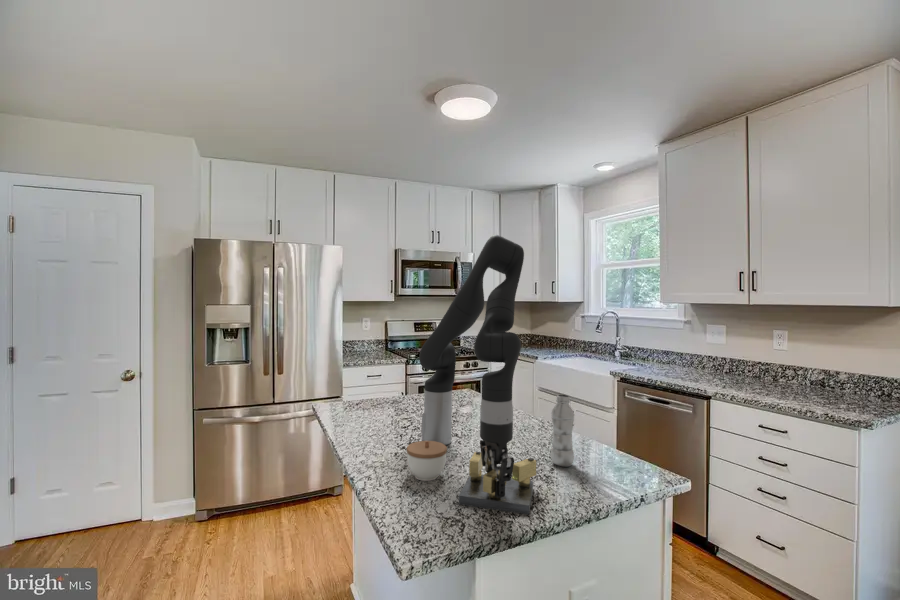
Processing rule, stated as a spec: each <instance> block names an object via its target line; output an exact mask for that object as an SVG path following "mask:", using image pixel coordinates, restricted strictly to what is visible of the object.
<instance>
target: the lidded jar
mask: <svg viewBox="0 0 900 600" xmlns="http://www.w3.org/2000/svg"><path fill="white" fill-rule="evenodd" d="M447 451H448V447H447V445H444V444H443V443H440V442H436V441H422V440H420V441H414V442H412V443H410V444H408V445H407V447H406V459H407V466H408V469H409V471H410V473H411V474H412V475H413V476H414V478H416V480H418V481H422V482H429V481H434V480H436V479H438V477H439V476H440V475H441V474H442V472H443V471H444V468H445V467H446V462H447Z"/></svg>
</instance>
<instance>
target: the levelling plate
mask: <svg viewBox="0 0 900 600" xmlns="http://www.w3.org/2000/svg"><path fill="white" fill-rule="evenodd" d="M483 475H484V474H482V479H481V480H478V481H475V480H472V479H471V476H468V478H467V480H466V482H465V484H464V485H463V487H462V489H461V491H460V493H459V495H458V505H461V506H467V507H468V506H469V507H475V508H482V509H490V510H495V511H496V510H497V511H503V512H510V513H517V514H523V515H530V511H531V506H532V505H531V504H532V499H533V491H534V481H533V480H530V486H528V487H522V486H520V485H519V484H518V481H516V480H513V479H512V477H511V480H510V481H506V485H505V496H504V497H500V498H491V497H489V493H487V492H484V491H483Z"/></svg>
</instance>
